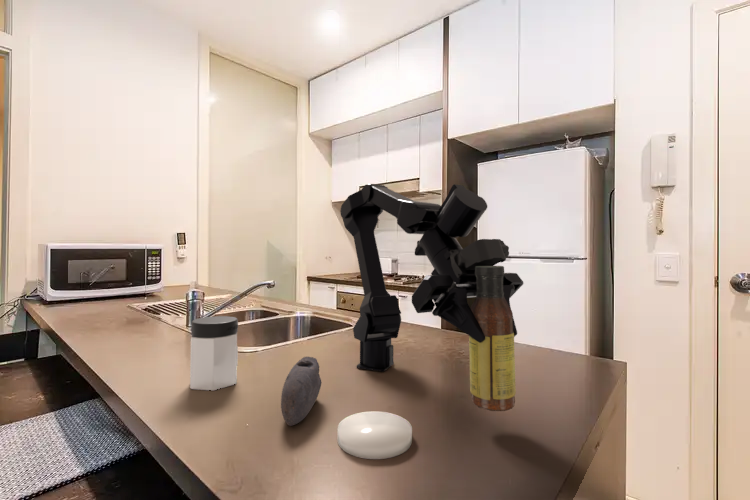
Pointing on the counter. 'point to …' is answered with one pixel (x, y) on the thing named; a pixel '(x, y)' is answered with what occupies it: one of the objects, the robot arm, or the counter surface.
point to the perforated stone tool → (300, 390)
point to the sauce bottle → (492, 344)
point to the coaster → (374, 435)
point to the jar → (213, 352)
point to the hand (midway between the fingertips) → (499, 338)
